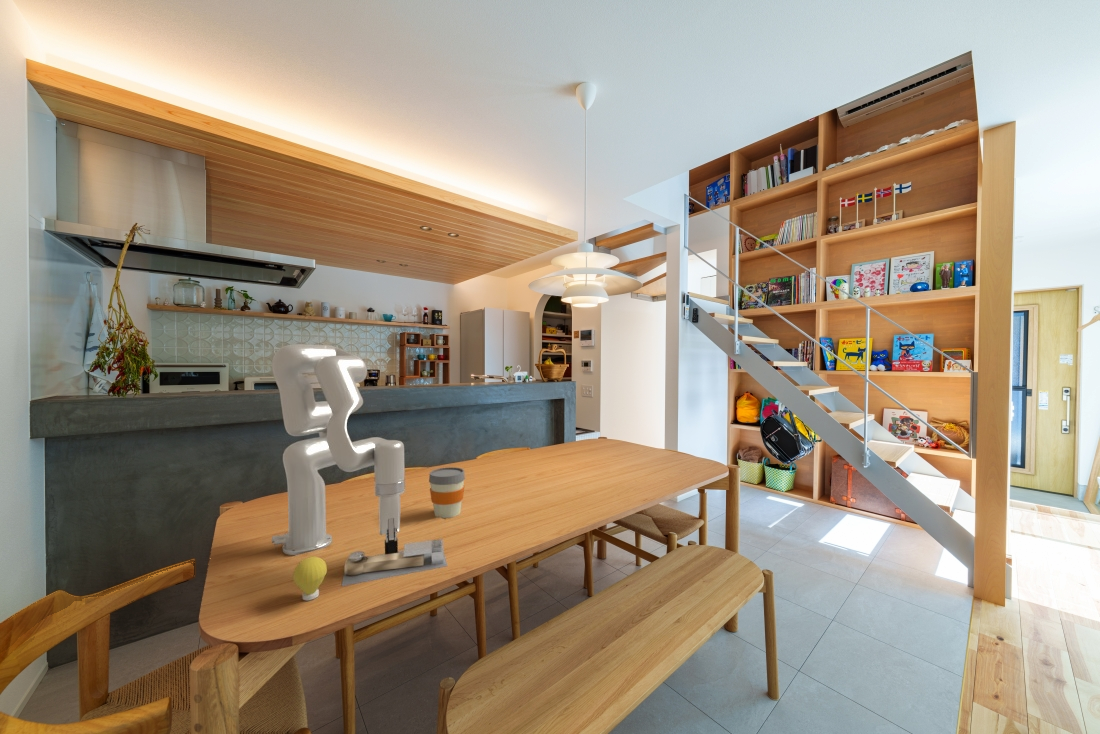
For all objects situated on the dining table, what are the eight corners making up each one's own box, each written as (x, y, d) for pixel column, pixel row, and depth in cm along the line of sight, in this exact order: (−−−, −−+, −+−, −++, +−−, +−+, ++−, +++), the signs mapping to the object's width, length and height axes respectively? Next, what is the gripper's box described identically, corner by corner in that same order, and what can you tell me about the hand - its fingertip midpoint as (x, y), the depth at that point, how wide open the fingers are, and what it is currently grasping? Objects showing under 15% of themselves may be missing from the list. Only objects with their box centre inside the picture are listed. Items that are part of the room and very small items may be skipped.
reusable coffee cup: (421, 516, 142) (421, 474, 142) (446, 504, 154) (445, 465, 153) (449, 522, 137) (448, 478, 136) (472, 510, 148) (472, 469, 147)
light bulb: (333, 592, 96) (332, 550, 96) (317, 609, 90) (317, 565, 89) (304, 593, 96) (303, 551, 96) (287, 610, 89) (286, 566, 89)
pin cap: (348, 564, 102) (348, 559, 102) (349, 557, 105) (349, 552, 105) (364, 561, 103) (364, 556, 103) (364, 555, 106) (364, 550, 106)
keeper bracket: (403, 569, 105) (403, 552, 105) (404, 559, 110) (404, 543, 110) (443, 563, 108) (443, 546, 108) (442, 554, 112) (442, 538, 112)
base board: (341, 590, 97) (341, 586, 97) (347, 563, 110) (347, 560, 110) (447, 569, 106) (447, 566, 106) (441, 547, 119) (441, 544, 119)
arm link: (343, 576, 101) (343, 567, 101) (348, 566, 106) (348, 557, 106) (423, 566, 105) (423, 557, 105) (424, 557, 110) (424, 548, 110)
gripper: (375, 481, 114) (376, 545, 114) (374, 497, 100) (375, 570, 101) (403, 478, 117) (404, 540, 117) (406, 493, 103) (407, 564, 104)
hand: (391, 554), depth 109 cm, fingers closed
